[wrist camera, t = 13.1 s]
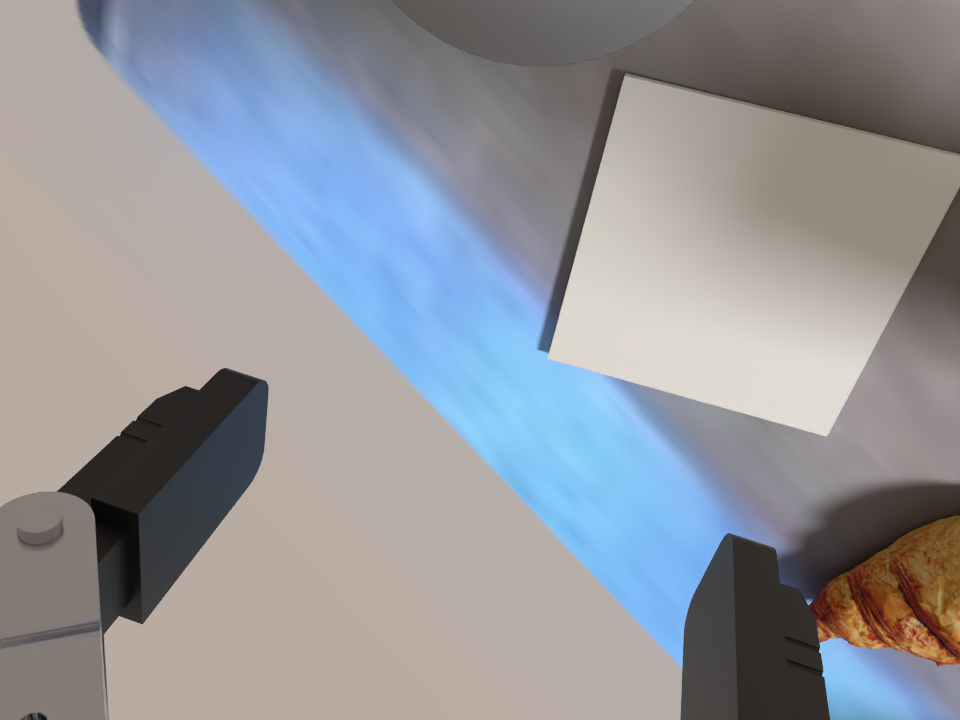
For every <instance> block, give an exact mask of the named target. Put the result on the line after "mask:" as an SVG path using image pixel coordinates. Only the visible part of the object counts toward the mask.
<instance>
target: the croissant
mask: <svg viewBox="0 0 960 720" xmlns="http://www.w3.org/2000/svg"><path fill="white" fill-rule="evenodd" d="M809 608H810V609H811V611H812V613H813V615H814V617H815V618H816V623H817V630H818V637H819V642H823V641H826V640H828V639H830V638H843V639H844V640H846V641H848V643H849V644H850V645H855V646H856V647H862V648H866V647H867V648H871V649H877V648H878V649H880V648H893V649H895V650H899V651H907V652H909V653H911V654H913V655H915V656H918V657H922V658H927V659H929V660H932V661H934V662H936V664H937V666H938V667H939V666H940V665H948V664H951V665H959V664H960V515H958V516H952V517H949V518H945V519H939V520H937V521H936V522H933V523H930V524H927V525H925V526H922V527H920V528H917V529H914V530H912V531H911V532H909V533H907V534H906V535H904V536H902V537H900V538H899V539H898V540H896V541H895V542H894V543H893V544H892V545H890V546H889V547H888V548H886V549H884V550H882V551H880V552H878V553H876V554H875V555H874V556H872V557H871V558H870V559H868V560H867V561H865V562H863V563H861V564H860V565H858V566H856V567H854V568H853V569H852V570H850V571H849V572H845V573H843V574H841V575H839V576H837V577H836V578H834V579H833V580H831V581H830V582H829V583H828V584H827V585H826V586H825V587H824V588H823V589H822V590H821V591H820V592H819V593H818V595H817V597H816V598H815V599H814V601H813V602H812V603H811V604H810V605H809Z"/></svg>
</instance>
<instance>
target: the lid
mask: <svg viewBox="0 0 960 720" xmlns="http://www.w3.org/2000/svg"><path fill="white" fill-rule="evenodd" d="M392 1H393V3H394V4H395V5H396V6H397V7H398V8H399V9H400V10H402V11H403V12H404V13H405V14H406V15H407V16H409V17H410V18H411V19H412V20H413V21H415V22H416V23H417V24H418V25H419V26H421V27H422V28H424V29H425V30H427V31H428V32H430V33H431V34H433V35H435V36H436V37H438V38H439V39H441V40H442V41H444V42H446V43H448V44H450V45H452V46H454V47H457V48H459V49H461V50H463V51H465V52H467V53H470V54H473V55H476V56H479V57H482V58H486V59H489V60H492V61H496V62H502V63H508V64H514V65H519V66H557V65H566V64H575V63H579V62H583V61H587V60H591V59H595V58H599V57H603V56H605V55H608V54H610V53H613V52H615V51H618V50H621V49H623V48H626V47H628V46H630V45H632V44H634V43H636V42H637V41H639V40H641V39H643V38H645V37H647V36H648V35H650V34H652V33H654V32H656V31H657V30H658V29H660V28H661V27H662V26H664V25H665V24H667V23H668V22H669V21H671V20H672V19H673V18H675V17H676V16H678V15H679V14H680V13H681V12H682V11H684V10H685V9H686V8H687V7H688V6H689V5H690V4H691V3H692V2H693V1H694V0H392Z"/></svg>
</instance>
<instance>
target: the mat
mask: <svg viewBox="0 0 960 720" xmlns="http://www.w3.org/2000/svg"><path fill="white" fill-rule="evenodd" d="M959 188H960V154H957V153H953V152H949V151H945V150H941V149H937V148H932V147H928V146H924V145H920V144H916V143H912V142H908V141H904V140H899V139H895V138H891V137H887V136H883V135H879V134H875V133H871V132H867V131H862V130H858V129H854V128H850V127H846V126H842V125H838V124H834V123H829V122H825V121H821V120H817V119H813V118H809V117H805V116H801V115H797V114H792V113H788V112H784V111H780V110H776V109H772V108H768V107H764V106H759V105H755V104H751V103H747V102H743V101H739V100H735V99H731V98H726V97H722V96H718V95H714V94H710V93H706V92H702V91H698V90H694V89H689V88H685V87H681V86H677V85H673V84H669V83H665V82H661V81H656V80H652V79H648V78H644V77H640V76H636V75H632V74H628V73H625V76H624V79H623V83H622V87H621V90H620V94H619V98H618V101H617V105H616V109H615V113H614V116H613V120H612V124H611V127H610V131H609V135H608V138H607V142H606V146H605V149H604V153H603V157H602V160H601V164H600V168H599V171H598V175H597V179H596V182H595V186H594V190H593V193H592V197H591V201H590V204H589V208H588V212H587V215H586V219H585V223H584V226H583V230H582V234H581V238H580V241H579V245H578V249H577V252H576V256H575V260H574V263H573V267H572V271H571V274H570V278H569V282H568V285H567V289H566V293H565V296H564V300H563V304H562V307H561V311H560V315H559V318H558V322H557V326H556V329H555V333H554V337H553V340H552V344H551V348H550V351H549V355H548V359H550V360H554V361H558V362H561V363H565V364H568V365H572V366H576V367H579V368H583V369H586V370H590V371H594V372H597V373H601V374H604V375H608V376H611V377H615V378H619V379H622V380H626V381H629V382H633V383H637V384H640V385H644V386H647V387H651V388H655V389H658V390H662V391H665V392H669V393H672V394H676V395H680V396H683V397H687V398H690V399H694V400H698V401H701V402H705V403H708V404H712V405H716V406H719V407H723V408H726V409H730V410H733V411H737V412H741V413H744V414H748V415H751V416H755V417H759V418H762V419H766V420H769V421H773V422H776V423H780V424H784V425H787V426H791V427H794V428H798V429H802V430H805V431H809V432H812V433H816V434H820V435H823V436H827V435H828V434H829V432H830V430H831V428H832V426H833V424H834V422H835V420H836V419H837V417H838V415H839V413H840V411H841V409H842V407H843V405H844V404H845V402H846V400H847V398H848V396H849V394H850V392H851V390H852V389H853V387H854V385H855V383H856V381H857V379H858V377H859V375H860V373H861V372H862V370H863V368H864V366H865V364H866V362H867V360H868V358H869V357H870V355H871V353H872V351H873V349H874V347H875V345H876V343H877V342H878V340H879V338H880V336H881V334H882V332H883V330H884V328H885V327H886V325H887V323H888V321H889V319H890V317H891V315H892V313H893V312H894V310H895V308H896V306H897V304H898V302H899V300H900V298H901V296H902V295H903V293H904V291H905V289H906V287H907V285H908V283H909V281H910V280H911V278H912V276H913V274H914V272H915V270H916V268H917V266H918V265H919V263H920V261H921V259H922V257H923V255H924V253H925V251H926V250H927V248H928V246H929V244H930V242H931V240H932V238H933V236H934V234H935V233H936V231H937V229H938V227H939V225H940V223H941V221H942V219H943V218H944V216H945V214H946V212H947V210H948V208H949V206H950V204H951V203H952V201H953V199H954V197H955V195H956V193H957V191H958V189H959Z"/></svg>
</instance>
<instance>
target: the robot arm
mask: <svg viewBox="0 0 960 720" xmlns="http://www.w3.org/2000/svg"><path fill="white" fill-rule="evenodd" d="M267 404H268V384H267V382H266V381H264V380H261V379H258V378H255V377H252V376H249V375H246V374H243V373H240V372H237V371H233V370H230V369H227V368H224V369H221V370H220V371H219V372H217V373H216V374H215V375H214V376H213V377H212V378H211V379H210V380H209V381H208V382H207V383H206V384H205V385H204V386H203V387H202V388H201V389H200V390H196V389H193V388H190V387H187V386H185V387H183V388H180V389H178V390H176V391H173V392H171V393H169V394H167V395H164V396H162V397H160V398H157V399H156V400H155V401H154V402H153V403H152V404H151V405H150V406H149V407H148V408H146V409H145V410H144V411H143V412H142V413H141V414H140V415H139V416H138V417H137V420H136V421H132V423H130V424H129V425H128V426H127V427H126V428H125V429H124V430H123V431H122V432H121V435H120V436H116V437H115V438H114V439H113V440H112V441H111V442H110V443H109V444H108V445H107V446H106V447H105V448H104V449H102V450H101V451H100V452H99V453H98V454H97V455H96V456H95V457H94V458H93V459H92V460H91V461H89V462H88V463H87V464H86V465H85V466H84V467H83V468H82V469H81V470H80V471H79V472H78V473H77V474H76V475H74V476H73V477H72V478H71V479H70V480H69V481H68V482H67V483H66V484H65V485H64V486H62V487H61V488H60V489H59V490H58V491H57V492H38V493H32V494H28V495H25V496H21V497H19V498H16V499H14V500H12V501H10V502H8V503H6V504H5V505H3V506H2V507H0V720H109V714H108V696H107V679H106V662H105V646H104V634H105V632H106V631H107V630H108V629H109V627H110V626H111V625H112V624H113V622H114V621H115V620H116V619H117V617H118V616H121V617H124V618H126V619H129V620H132V621H135V622H138V623H140V624H143V623H144V622H145V620H146V619H147V618H148V617H149V615H150V614H151V613H152V611H153V610H154V609H155V607H156V606H157V605H158V604H159V602H160V601H161V600H162V598H163V597H164V596H165V594H166V593H167V592H168V591H169V589H170V588H171V586H172V585H173V584H174V583H175V581H176V580H177V579H178V578H179V576H180V575H181V573H182V572H183V571H184V570H185V568H186V567H187V566H188V565H189V563H190V562H191V561H192V559H193V558H194V557H195V555H196V554H197V553H198V551H199V550H200V549H201V548H202V546H203V545H204V544H205V542H206V541H207V540H208V539H209V537H210V536H211V535H212V533H213V532H214V531H215V529H216V528H217V527H218V526H219V524H220V523H221V522H222V520H223V519H224V518H225V516H226V515H227V514H228V512H229V511H230V510H231V509H232V507H233V506H234V505H235V503H236V502H237V501H238V500H239V498H240V497H241V496H242V494H243V493H244V492H245V490H246V489H247V488H248V486H249V485H250V484H251V482H252V481H253V479H254V477H255V475H256V473H257V471H258V469H259V466H260V463H261V461H262V457H263V452H264V444H265V431H266V416H267ZM819 649H820V644H819V637H818V630H817V623H816V618H815V617H814V615H813V613H812V611H811V609H810V608H809V606H808V604H807V602H806V601H805V599H804V597H803V595H802V593H801V592H800V590H798V589H795V588H792V587H789V586H786V585H783V584H780V582H779V572H778V561H777V553H776V550H775V549H774V548H773V547H770V546H767V545H764V544H761V543H758V542H755V541H752V540H749V539H746V538H742V537H739V536H736V535H733V534H730V533H728V534H726V535H725V537H724V538H723V539H722V541H721V543H720V545H719V547H718V549H717V551H716V553H715V555H714V557H713V558H712V560H711V562H710V564H709V566H708V568H707V570H706V572H705V574H704V576H703V578H702V580H701V582H700V584H699V585H698V587H697V589H696V591H695V593H694V595H693V598H692V600H691V603H690V606H689V609H688V613H687V617H686V622H685V628H684V647H683V672H682V700H681V720H830V716H829V709H828V702H827V695H826V687H825V680H824V677H822V673H823V666H822V659H821V653H819Z"/></svg>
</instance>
